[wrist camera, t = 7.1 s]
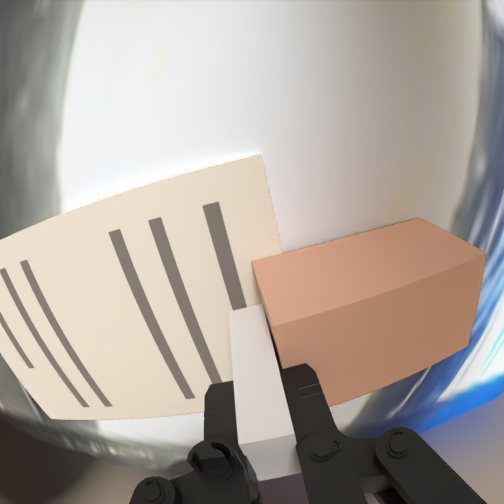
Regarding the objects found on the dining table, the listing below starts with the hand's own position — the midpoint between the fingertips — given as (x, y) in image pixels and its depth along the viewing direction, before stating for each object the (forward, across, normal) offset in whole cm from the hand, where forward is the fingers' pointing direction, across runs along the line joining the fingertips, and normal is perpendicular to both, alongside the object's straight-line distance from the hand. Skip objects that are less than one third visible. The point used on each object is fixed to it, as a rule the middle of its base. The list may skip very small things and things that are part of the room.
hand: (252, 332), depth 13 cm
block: (-1, +1, 0) cm, 1 cm away
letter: (+2, -8, 0) cm, 8 cm away
